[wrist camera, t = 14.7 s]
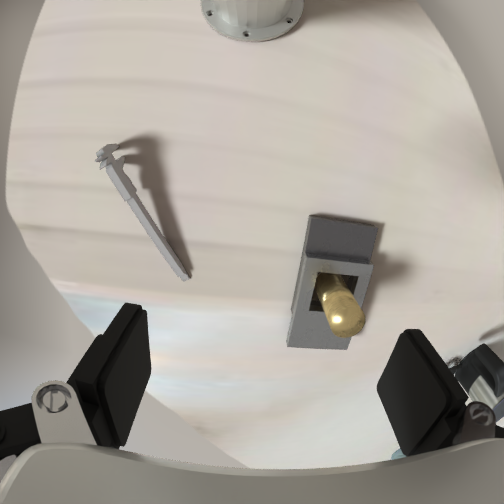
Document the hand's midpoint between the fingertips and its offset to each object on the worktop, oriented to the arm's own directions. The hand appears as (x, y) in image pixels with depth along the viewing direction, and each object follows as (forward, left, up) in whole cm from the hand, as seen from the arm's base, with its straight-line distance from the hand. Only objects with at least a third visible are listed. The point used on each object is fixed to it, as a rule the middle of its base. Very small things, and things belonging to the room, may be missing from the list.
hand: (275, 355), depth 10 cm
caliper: (+3, -14, -29) cm, 32 cm away
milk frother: (+27, +46, -29) cm, 60 cm away
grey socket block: (+10, +11, -28) cm, 32 cm away
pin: (+10, +11, -28) cm, 32 cm away
